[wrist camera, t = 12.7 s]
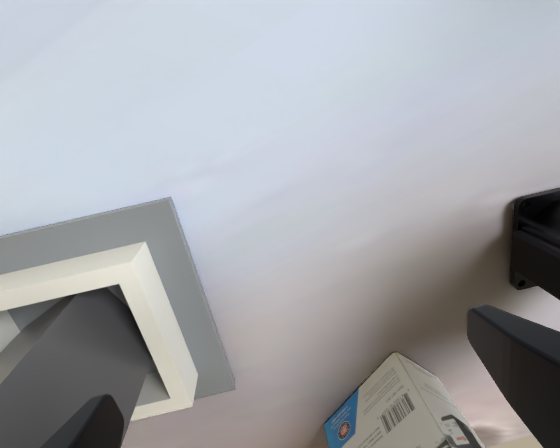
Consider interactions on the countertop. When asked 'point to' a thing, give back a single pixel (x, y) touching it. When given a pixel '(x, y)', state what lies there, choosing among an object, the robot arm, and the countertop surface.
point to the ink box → (400, 412)
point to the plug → (70, 366)
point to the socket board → (123, 293)
